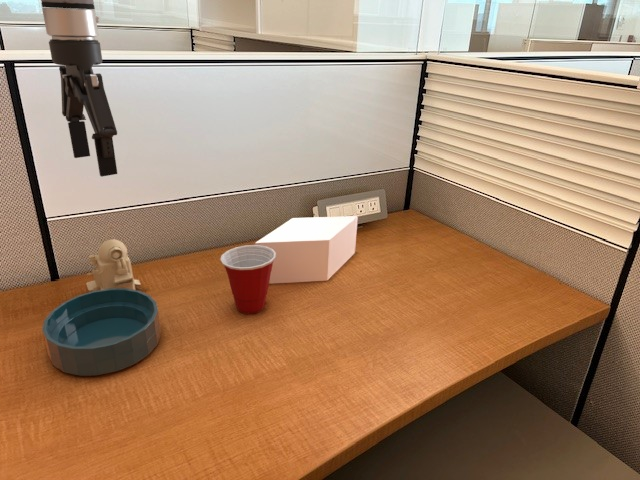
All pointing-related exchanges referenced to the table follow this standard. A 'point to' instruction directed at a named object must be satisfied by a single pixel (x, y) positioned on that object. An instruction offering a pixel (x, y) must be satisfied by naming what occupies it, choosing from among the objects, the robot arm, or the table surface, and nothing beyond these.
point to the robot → (111, 267)
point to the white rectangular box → (310, 248)
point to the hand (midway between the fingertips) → (94, 165)
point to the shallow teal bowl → (102, 331)
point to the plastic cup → (249, 275)
